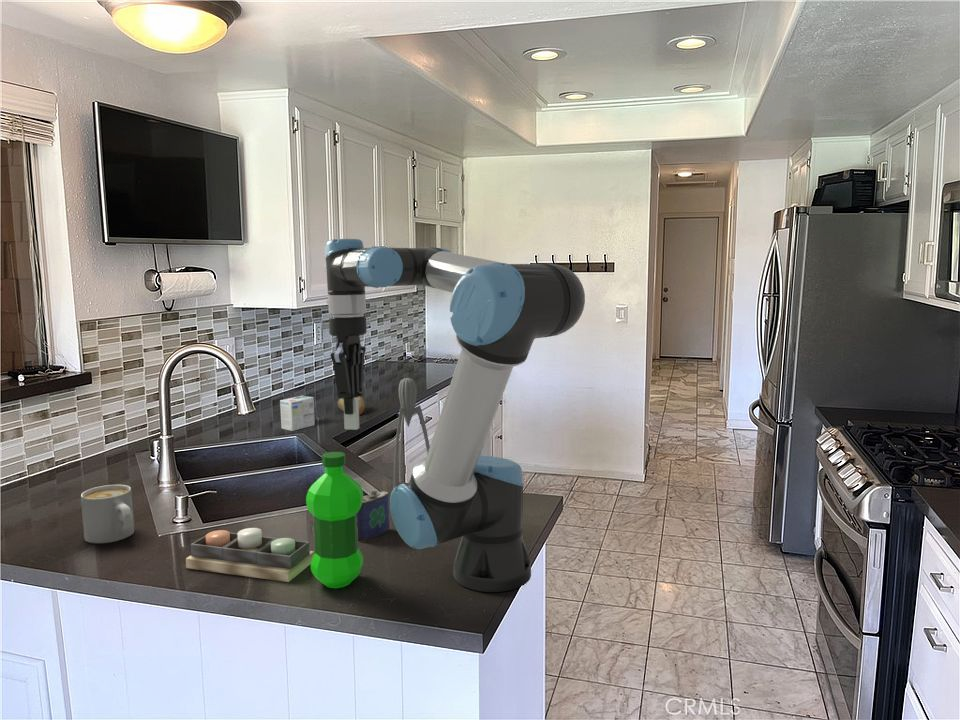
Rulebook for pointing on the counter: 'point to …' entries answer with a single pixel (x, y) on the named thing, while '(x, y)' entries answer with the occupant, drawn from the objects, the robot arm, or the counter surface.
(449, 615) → the counter surface
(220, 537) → the terracotta button
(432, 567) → the counter surface
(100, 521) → the coffee mug
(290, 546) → the sage button
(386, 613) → the counter surface
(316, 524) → the plastic bottle
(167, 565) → the counter surface
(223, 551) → the button panel
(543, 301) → the robot arm
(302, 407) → the light bulb box
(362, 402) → the potato
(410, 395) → the citrus juicer
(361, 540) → the flask
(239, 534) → the white button
